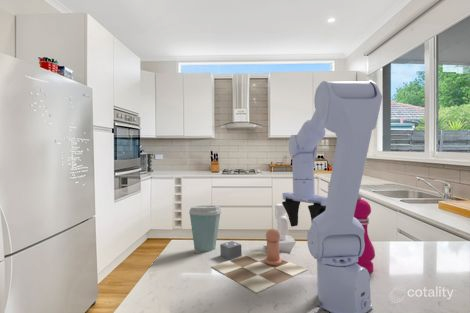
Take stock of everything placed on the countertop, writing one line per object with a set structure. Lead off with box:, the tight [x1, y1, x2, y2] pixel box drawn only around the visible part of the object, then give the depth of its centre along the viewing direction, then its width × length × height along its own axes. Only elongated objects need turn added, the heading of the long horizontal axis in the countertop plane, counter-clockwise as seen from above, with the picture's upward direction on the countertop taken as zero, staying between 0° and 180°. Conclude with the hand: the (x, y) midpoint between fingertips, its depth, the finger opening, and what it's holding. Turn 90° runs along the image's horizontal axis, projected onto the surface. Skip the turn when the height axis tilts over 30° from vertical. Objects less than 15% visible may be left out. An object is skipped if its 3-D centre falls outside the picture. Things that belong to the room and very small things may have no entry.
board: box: [210, 250, 309, 294], centre depth 68 cm, size 18×18×1 cm
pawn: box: [265, 228, 283, 266], centre depth 71 cm, size 4×4×9 cm
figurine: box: [274, 203, 297, 253], centre depth 84 cm, size 7×9×15 cm
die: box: [219, 240, 243, 261], centre depth 77 cm, size 4×4×5 cm
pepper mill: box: [354, 193, 376, 274], centre depth 69 cm, size 7×7×20 cm
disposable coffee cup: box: [188, 204, 222, 254], centre depth 85 cm, size 11×11×15 cm
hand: (304, 228), depth 71 cm, fingers open, 7 cm apart
